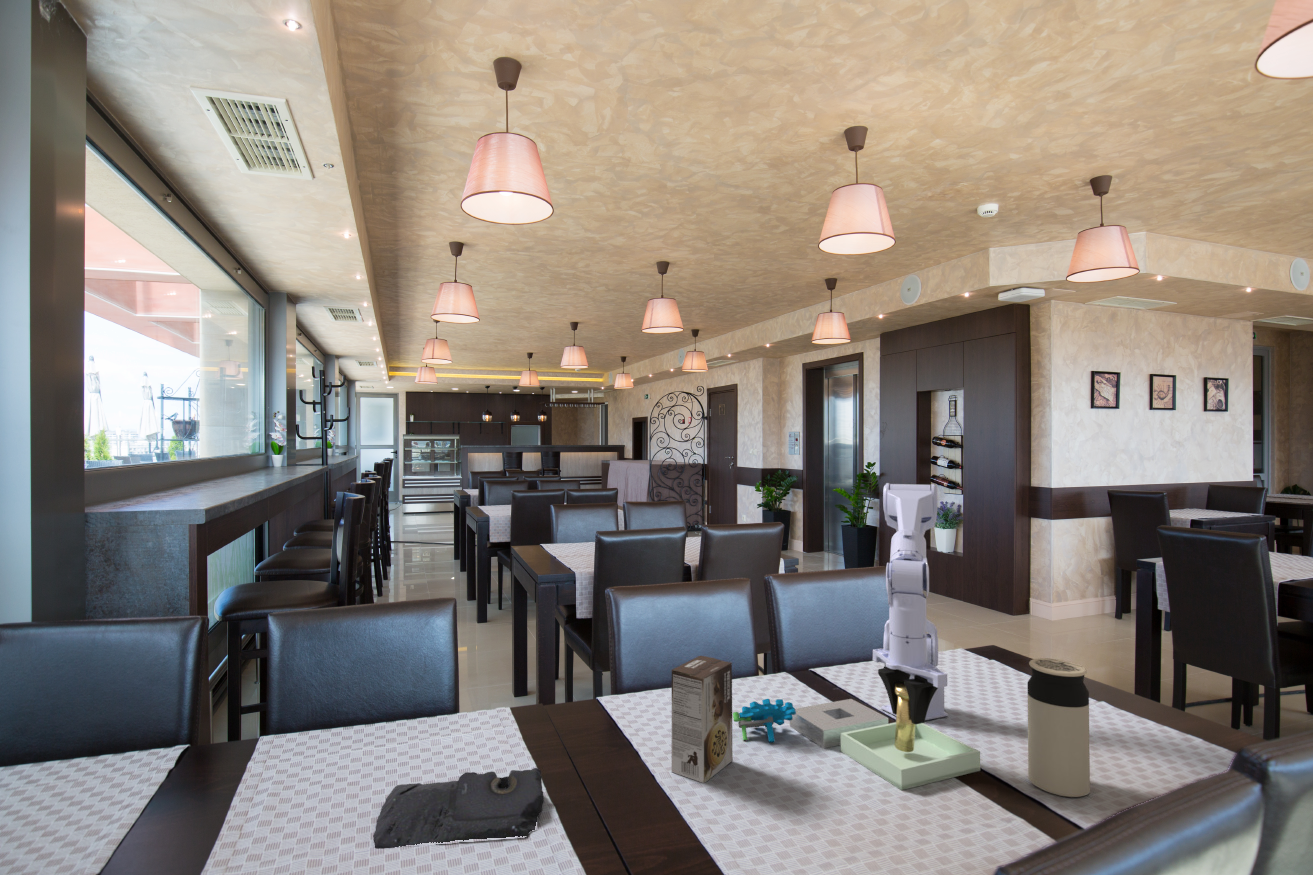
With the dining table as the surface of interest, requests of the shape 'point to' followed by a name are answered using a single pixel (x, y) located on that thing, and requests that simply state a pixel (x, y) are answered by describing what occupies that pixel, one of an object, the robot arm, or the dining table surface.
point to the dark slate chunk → (461, 809)
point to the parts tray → (910, 755)
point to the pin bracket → (834, 721)
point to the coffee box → (701, 717)
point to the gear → (764, 716)
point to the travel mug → (1058, 728)
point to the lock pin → (904, 721)
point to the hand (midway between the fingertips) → (908, 717)
